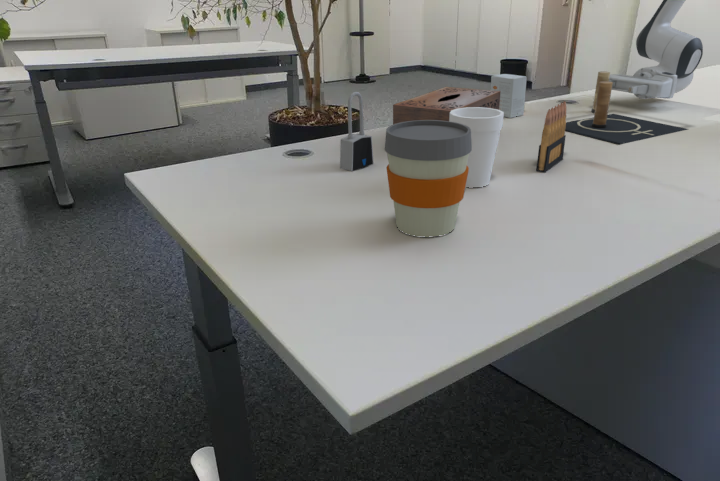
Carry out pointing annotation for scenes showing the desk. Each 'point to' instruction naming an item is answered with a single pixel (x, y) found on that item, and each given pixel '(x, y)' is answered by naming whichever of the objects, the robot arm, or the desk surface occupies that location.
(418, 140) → the reusable coffee cup
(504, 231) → the desk surface
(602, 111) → the beech stamp
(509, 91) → the small box
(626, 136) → the desk pad
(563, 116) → the ammunition clip
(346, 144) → the padlock
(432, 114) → the tissue box cover
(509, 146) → the desk surface
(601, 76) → the birch stamp
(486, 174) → the foam cup
